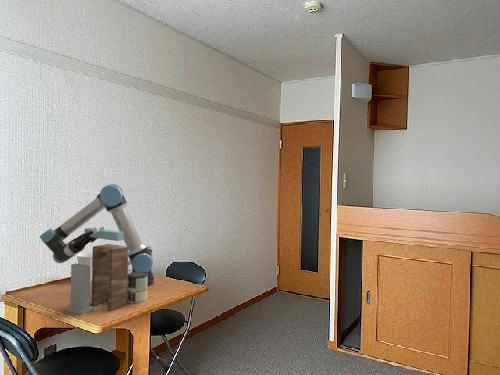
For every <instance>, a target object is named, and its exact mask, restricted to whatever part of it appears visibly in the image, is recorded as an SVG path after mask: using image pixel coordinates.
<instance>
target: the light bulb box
mask: <svg viewBox="0 0 500 375" xmlns="http://www.w3.org/2000/svg"><path fill="white" fill-rule="evenodd" d="M129 273H132V263H131V261H130V259H129V257H128V270H127V275H128V274H129Z"/></svg>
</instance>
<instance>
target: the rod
mask: <svg viewBox="0 0 500 375" xmlns="http://www.w3.org/2000/svg"><path fill="white" fill-rule="evenodd" d="M94 228H95V227H89V228H88V227H87V228H84V232H83V234H85V233H88V232H89V231H91V230H92V229H94ZM98 230H99V232H97V233H96V234H95V235H93V236H92V237H93V238H98V239H100V240H101V239H102V240H107V241H108V240H109V241H114V242H119V241H124V232H120V231H119V230H118V231H117V230H110V229H106V230H104V229H100V228H98ZM89 237H90V236H89Z"/></svg>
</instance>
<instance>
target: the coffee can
mask: <svg viewBox="0 0 500 375" xmlns="http://www.w3.org/2000/svg"><path fill="white" fill-rule="evenodd" d="M127 276H128V292H127V302H128V303H129V304H130V303H131V304H140V303H145V302H147V300H148V286H147V283H148V273H146V272H131V273H129V274H127Z"/></svg>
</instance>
